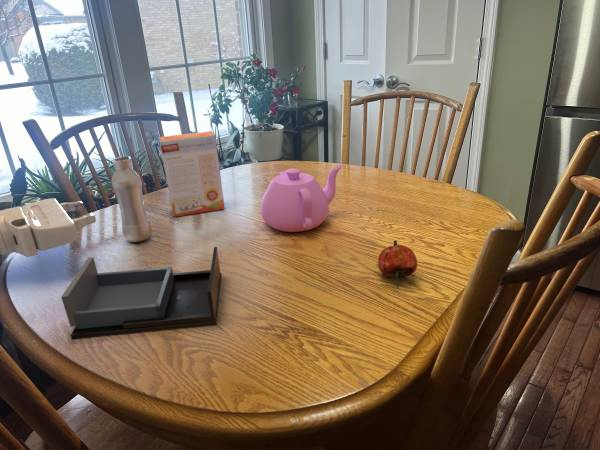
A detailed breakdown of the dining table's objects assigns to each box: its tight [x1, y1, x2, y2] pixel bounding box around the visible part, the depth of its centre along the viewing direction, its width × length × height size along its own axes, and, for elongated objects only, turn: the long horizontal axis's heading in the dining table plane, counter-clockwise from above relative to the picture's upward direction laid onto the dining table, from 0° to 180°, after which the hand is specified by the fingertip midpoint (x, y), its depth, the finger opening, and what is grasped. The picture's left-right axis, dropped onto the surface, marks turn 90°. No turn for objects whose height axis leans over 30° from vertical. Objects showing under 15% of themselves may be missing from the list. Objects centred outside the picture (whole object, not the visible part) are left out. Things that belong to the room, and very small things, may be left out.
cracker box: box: [159, 130, 225, 218], centre depth 117 cm, size 14×6×21 cm, turn 108°
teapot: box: [260, 164, 344, 233], centre depth 109 cm, size 22×22×14 cm
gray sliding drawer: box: [60, 256, 174, 329], centre depth 78 cm, size 15×13×7 cm
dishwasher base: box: [70, 246, 222, 340], centre depth 79 cm, size 24×16×7 cm
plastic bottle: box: [110, 156, 152, 243], centre depth 102 cm, size 6×7×20 cm
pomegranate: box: [377, 239, 418, 290], centre depth 84 cm, size 7×7×10 cm
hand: (88, 211), depth 97 cm, fingers open, 8 cm apart
